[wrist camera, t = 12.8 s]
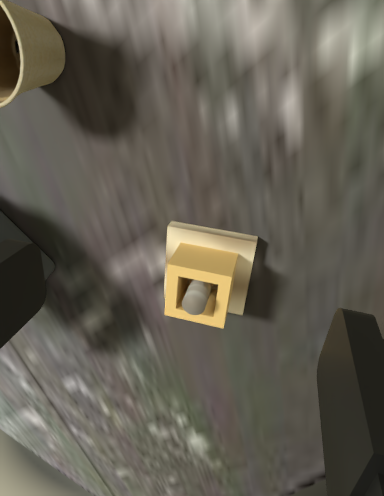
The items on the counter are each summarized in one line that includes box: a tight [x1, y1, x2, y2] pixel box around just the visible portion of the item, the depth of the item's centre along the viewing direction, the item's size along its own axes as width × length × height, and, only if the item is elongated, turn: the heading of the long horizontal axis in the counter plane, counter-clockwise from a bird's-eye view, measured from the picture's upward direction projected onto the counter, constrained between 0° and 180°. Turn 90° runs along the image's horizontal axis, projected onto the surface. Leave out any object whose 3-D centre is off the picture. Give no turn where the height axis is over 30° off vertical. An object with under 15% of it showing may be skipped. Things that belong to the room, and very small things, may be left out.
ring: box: [165, 243, 238, 328], centre depth 38 cm, size 7×7×5 cm
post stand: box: [164, 221, 258, 315], centre depth 38 cm, size 10×10×8 cm
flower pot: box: [0, 0, 65, 108], centre depth 31 cm, size 9×9×9 cm
